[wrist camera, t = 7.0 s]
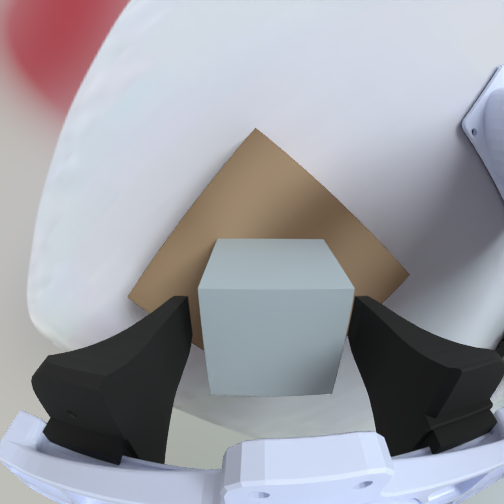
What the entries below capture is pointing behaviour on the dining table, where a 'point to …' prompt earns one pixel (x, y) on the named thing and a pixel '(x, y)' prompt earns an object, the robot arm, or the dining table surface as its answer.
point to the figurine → (501, 349)
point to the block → (273, 317)
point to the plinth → (263, 229)
